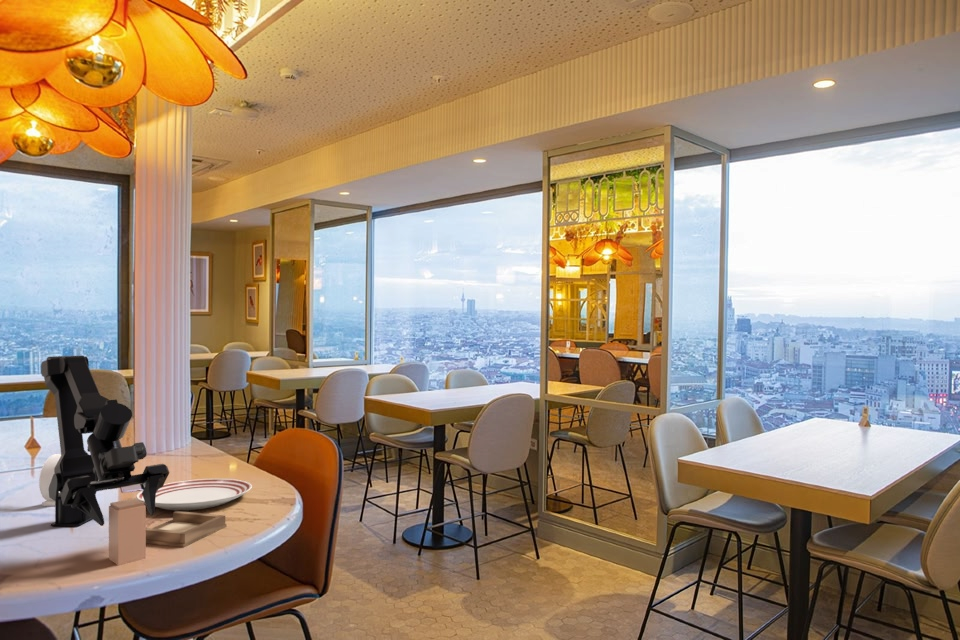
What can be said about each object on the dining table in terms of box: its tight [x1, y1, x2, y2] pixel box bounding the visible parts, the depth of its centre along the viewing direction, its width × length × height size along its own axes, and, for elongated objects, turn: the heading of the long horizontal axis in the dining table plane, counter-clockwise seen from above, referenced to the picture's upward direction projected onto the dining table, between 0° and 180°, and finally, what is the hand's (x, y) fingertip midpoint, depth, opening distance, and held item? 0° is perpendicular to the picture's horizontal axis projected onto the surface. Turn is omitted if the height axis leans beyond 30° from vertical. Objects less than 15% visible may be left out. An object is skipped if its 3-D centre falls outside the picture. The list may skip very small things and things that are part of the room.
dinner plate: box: [136, 478, 253, 511], centre depth 171 cm, size 27×27×3 cm
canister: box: [108, 497, 147, 566], centre depth 130 cm, size 5×5×11 cm
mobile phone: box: [120, 484, 143, 494], centre depth 186 cm, size 8×1×15 cm
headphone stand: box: [38, 453, 61, 507], centre depth 168 cm, size 5×6×12 cm
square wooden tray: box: [146, 510, 227, 548], centre depth 145 cm, size 14×14×3 cm
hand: (128, 519), depth 129 cm, fingers open, 9 cm apart
